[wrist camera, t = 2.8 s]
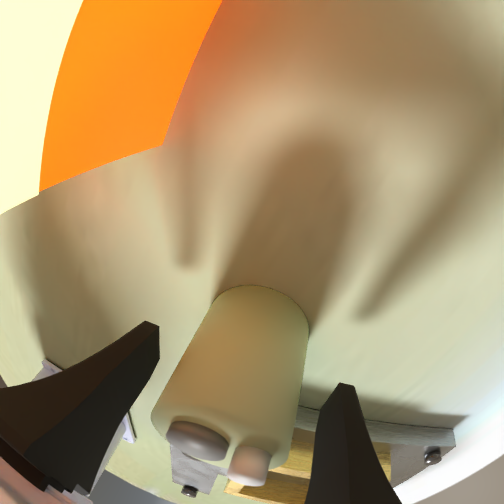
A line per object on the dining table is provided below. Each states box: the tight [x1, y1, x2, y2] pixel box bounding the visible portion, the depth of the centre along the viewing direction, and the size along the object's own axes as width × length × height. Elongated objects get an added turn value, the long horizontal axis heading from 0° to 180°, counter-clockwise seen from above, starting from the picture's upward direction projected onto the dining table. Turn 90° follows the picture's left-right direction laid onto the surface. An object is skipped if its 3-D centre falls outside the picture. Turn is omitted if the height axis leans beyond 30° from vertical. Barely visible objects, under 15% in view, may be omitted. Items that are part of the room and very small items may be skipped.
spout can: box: [151, 285, 309, 486], centre depth 10 cm, size 5×5×7 cm
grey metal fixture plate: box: [170, 406, 456, 504], centre depth 16 cm, size 18×12×5 cm, turn 78°
